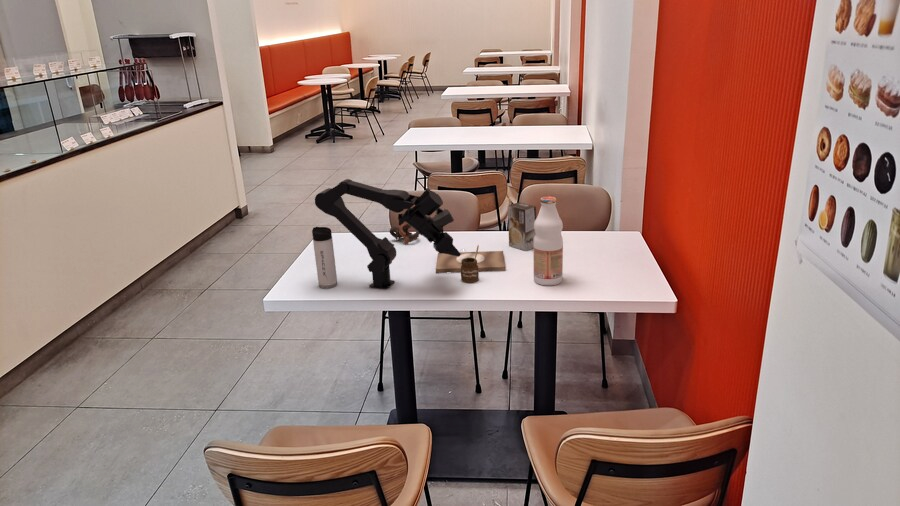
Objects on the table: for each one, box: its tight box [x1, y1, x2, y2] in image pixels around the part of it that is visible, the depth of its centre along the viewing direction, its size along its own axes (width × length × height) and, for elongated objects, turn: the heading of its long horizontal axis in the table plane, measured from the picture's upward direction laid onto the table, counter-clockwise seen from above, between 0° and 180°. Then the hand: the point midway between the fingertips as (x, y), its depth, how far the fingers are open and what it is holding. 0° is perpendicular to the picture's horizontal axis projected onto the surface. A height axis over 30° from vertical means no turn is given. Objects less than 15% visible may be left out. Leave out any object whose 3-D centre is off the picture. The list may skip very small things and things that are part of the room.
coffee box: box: [507, 201, 537, 252], centre depth 238 cm, size 9×6×16 cm
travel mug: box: [311, 226, 338, 289], centre depth 211 cm, size 6×7×20 cm
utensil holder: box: [459, 244, 480, 284], centre depth 211 cm, size 6×6×12 cm
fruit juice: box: [533, 196, 564, 286], centre depth 204 cm, size 9×9×28 cm
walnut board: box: [435, 250, 506, 274], centre depth 226 cm, size 24×16×2 cm, turn 88°
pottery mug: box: [388, 222, 420, 245], centre depth 252 cm, size 12×10×8 cm
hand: (456, 250), depth 208 cm, fingers open, 9 cm apart
